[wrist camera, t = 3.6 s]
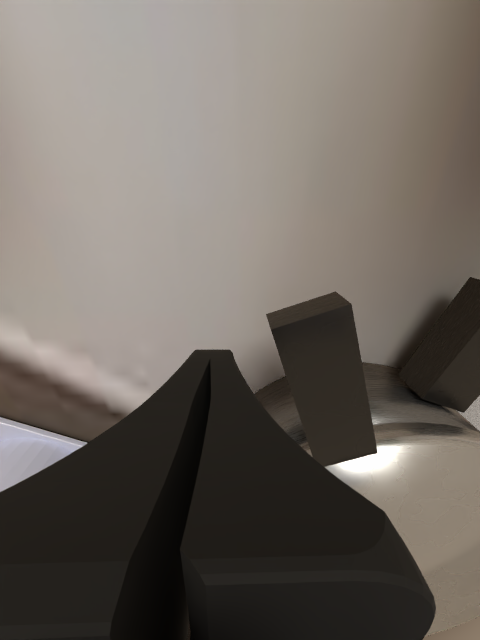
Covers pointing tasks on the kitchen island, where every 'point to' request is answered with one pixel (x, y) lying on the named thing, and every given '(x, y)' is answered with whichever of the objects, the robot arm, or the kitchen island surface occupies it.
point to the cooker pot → (412, 376)
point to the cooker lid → (387, 453)
